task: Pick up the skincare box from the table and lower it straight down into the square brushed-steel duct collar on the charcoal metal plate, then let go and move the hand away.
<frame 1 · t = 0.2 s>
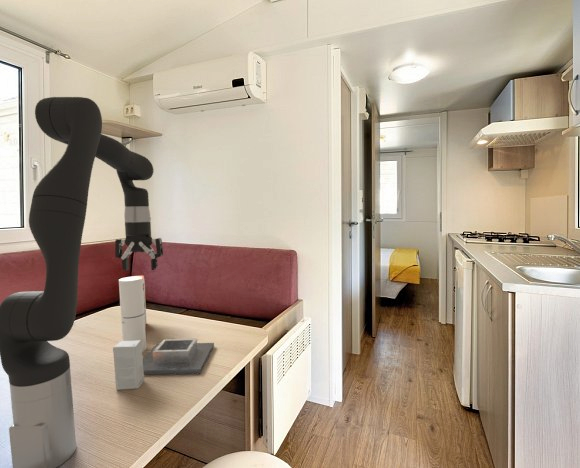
hand: (140, 270, 104), 28 cm above the table, tool pointing down, fingers open, 8 cm apart
skincare box: (130, 385, 88), on the table
duct plate: (176, 360, 102), on the table
cracker box: (138, 330, 127), on the table
cylindrical container: (135, 350, 109), on the table
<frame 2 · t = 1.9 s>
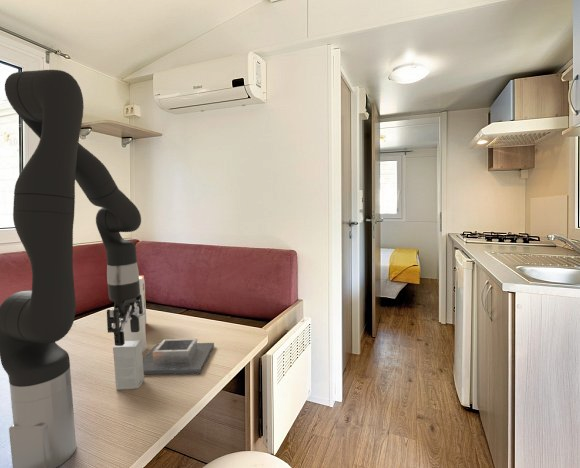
hand: (128, 338, 87), 13 cm above the table, tool pointing down, fingers open, 8 cm apart
nothing on the table moved.
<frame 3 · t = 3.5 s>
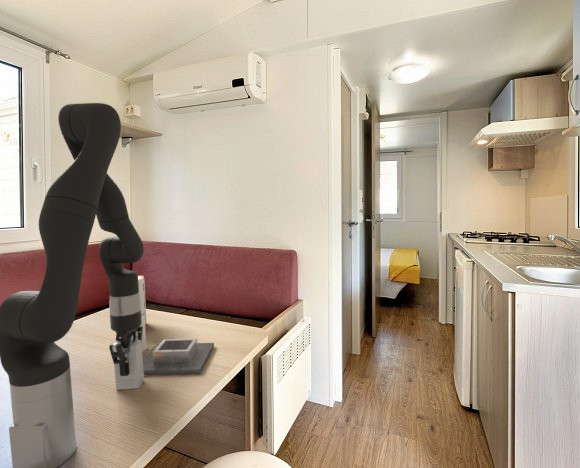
hand: (129, 370, 87), 4 cm above the table, tool pointing down, fingers closed on skincare box, 4 cm apart
skincare box: (130, 385, 88), on the table, touching gripper
everything else where it was.
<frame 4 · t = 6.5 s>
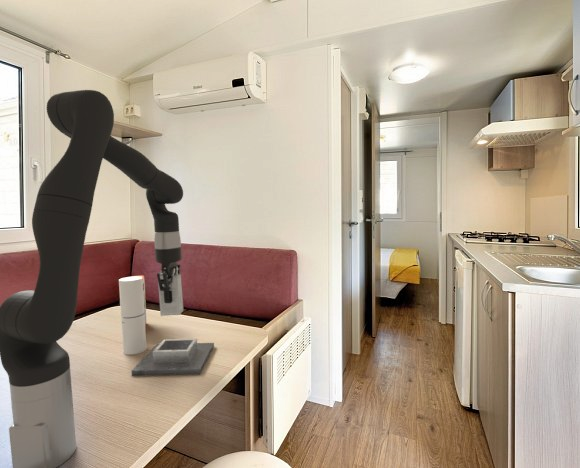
hand: (171, 299, 99), 20 cm above the table, tool pointing down, fingers closed on skincare box, 4 cm apart
skincare box: (172, 313, 100), point 15 cm above the table, touching gripper
everything else where it was.
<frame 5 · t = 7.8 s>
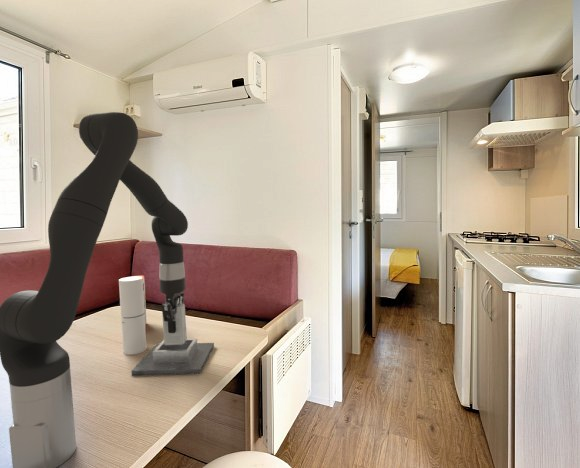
hand: (175, 329, 101), 10 cm above the table, tool pointing down, fingers closed on skincare box, 4 cm apart
skincare box: (175, 343, 101), point 6 cm above the table, touching gripper
everything else where it was.
when the fingers open (7 cm above the table, at t = 9.1 s): skincare box drops 1 cm, resting on duct plate.
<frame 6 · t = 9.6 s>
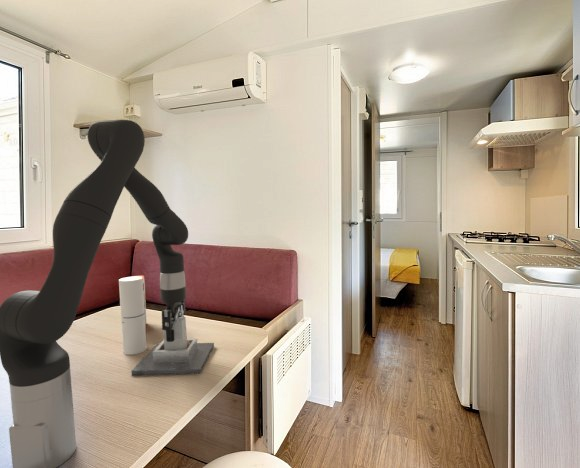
hand: (175, 335, 101), 8 cm above the table, tool pointing down, fingers open, 8 cm apart
skincare box: (176, 356, 102), point 1 cm above the table, touching duct plate
everything else where it was.
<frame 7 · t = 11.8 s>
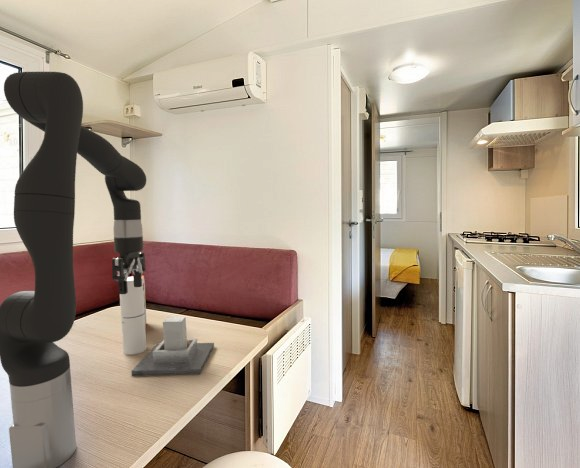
hand: (131, 290, 94), 25 cm above the table, tool pointing down, fingers open, 8 cm apart
nothing on the table moved.
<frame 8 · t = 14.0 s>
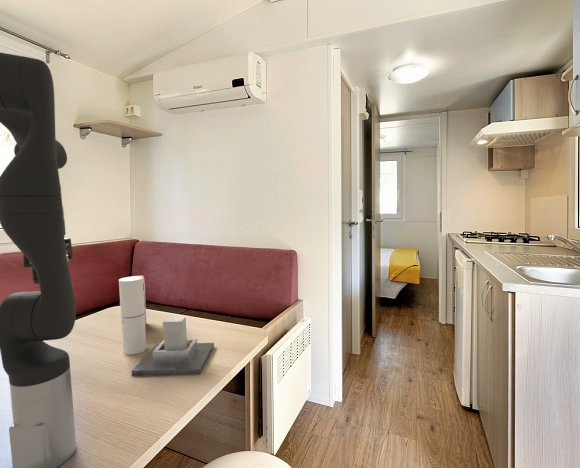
hand: (51, 279, 85), 30 cm above the table, tool pointing down, fingers open, 8 cm apart
nothing on the table moved.
at the end: skincare box 0.1 cm off-centre on the duct plate, point 1.3 cm above the duct plate's base; skincare box tilted 0°; the gripper is holding nothing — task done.
